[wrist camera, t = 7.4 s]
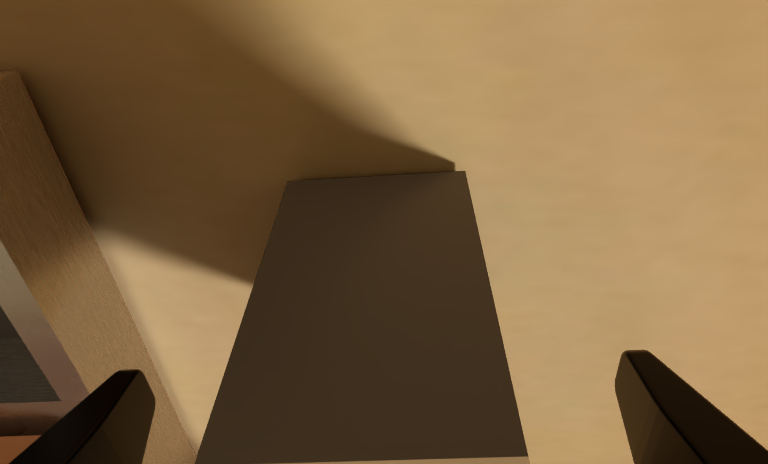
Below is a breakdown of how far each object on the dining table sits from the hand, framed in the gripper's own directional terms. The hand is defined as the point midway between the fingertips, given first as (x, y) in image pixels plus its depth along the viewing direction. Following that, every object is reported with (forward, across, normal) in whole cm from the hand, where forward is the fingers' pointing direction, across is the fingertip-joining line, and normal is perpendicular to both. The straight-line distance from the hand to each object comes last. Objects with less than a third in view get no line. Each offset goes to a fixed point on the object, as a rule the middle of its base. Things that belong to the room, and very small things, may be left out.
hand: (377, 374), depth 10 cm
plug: (+4, 0, 0) cm, 4 cm away
